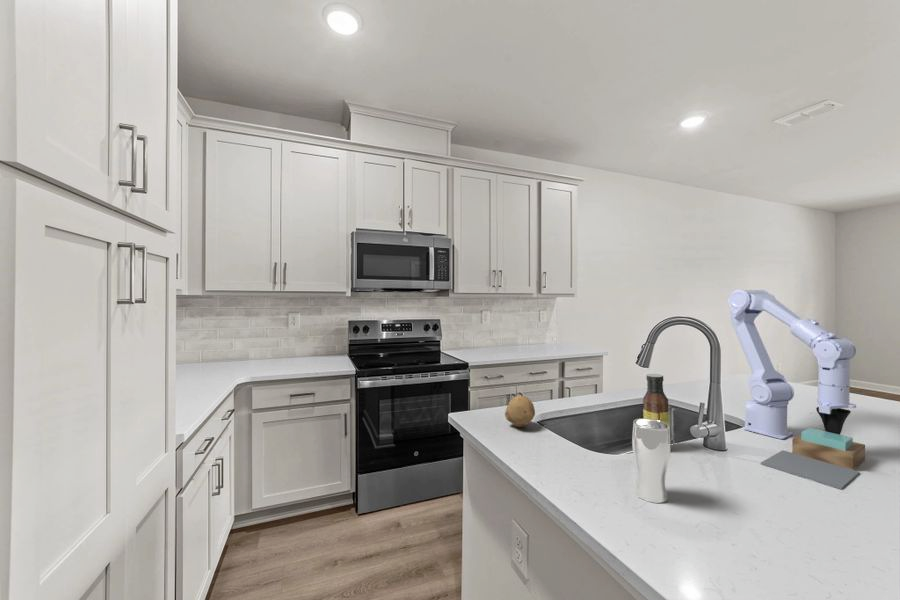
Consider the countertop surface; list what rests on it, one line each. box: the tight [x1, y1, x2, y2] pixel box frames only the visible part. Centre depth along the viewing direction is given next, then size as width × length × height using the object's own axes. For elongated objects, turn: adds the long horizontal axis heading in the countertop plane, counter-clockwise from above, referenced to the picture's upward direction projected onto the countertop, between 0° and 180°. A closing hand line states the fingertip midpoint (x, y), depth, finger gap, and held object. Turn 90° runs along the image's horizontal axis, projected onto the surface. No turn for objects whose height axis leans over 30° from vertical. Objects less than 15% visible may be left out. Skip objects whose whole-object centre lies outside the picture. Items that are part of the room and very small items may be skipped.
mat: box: [760, 450, 861, 490], centre depth 89 cm, size 14×14×1 cm
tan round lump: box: [504, 395, 536, 428], centre depth 116 cm, size 9×9×10 cm
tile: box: [800, 427, 854, 451], centre depth 95 cm, size 8×6×2 cm
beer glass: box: [631, 418, 671, 504], centre depth 77 cm, size 7×7×15 cm
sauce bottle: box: [642, 373, 671, 433], centre depth 101 cm, size 6×6×20 cm
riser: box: [791, 433, 866, 470], centre depth 95 cm, size 11×10×4 cm
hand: (832, 436), depth 97 cm, fingers closed
